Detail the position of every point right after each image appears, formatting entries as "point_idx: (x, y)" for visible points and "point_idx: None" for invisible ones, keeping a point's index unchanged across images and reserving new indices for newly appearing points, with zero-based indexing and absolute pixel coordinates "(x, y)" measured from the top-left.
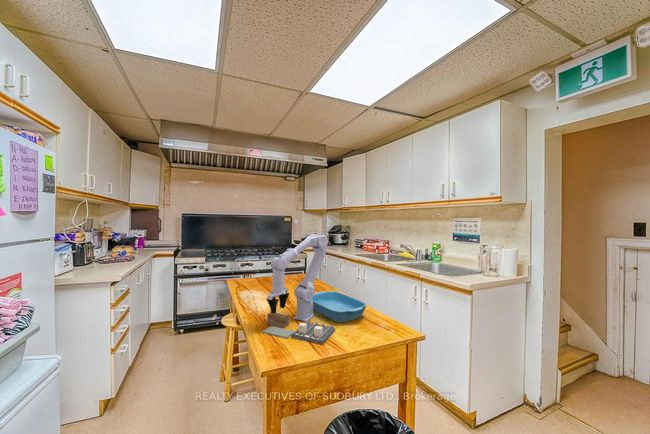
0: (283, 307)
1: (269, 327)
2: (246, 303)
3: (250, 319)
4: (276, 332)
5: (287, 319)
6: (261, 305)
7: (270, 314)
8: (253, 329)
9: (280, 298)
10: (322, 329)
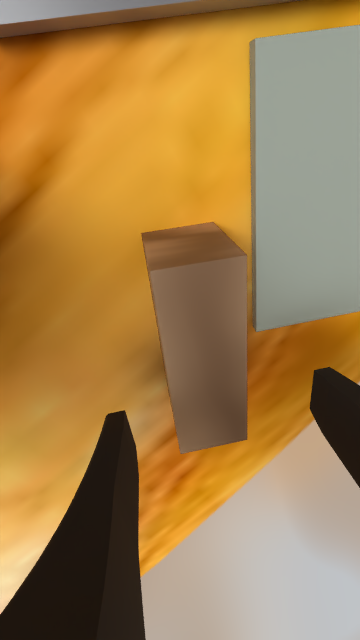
0: (126, 422)
1: (284, 320)
2: None
3: (215, 482)
4: (349, 205)
5: (178, 250)
6: (15, 580)
7: (237, 422)
8: None
9: (137, 593)
10: None
